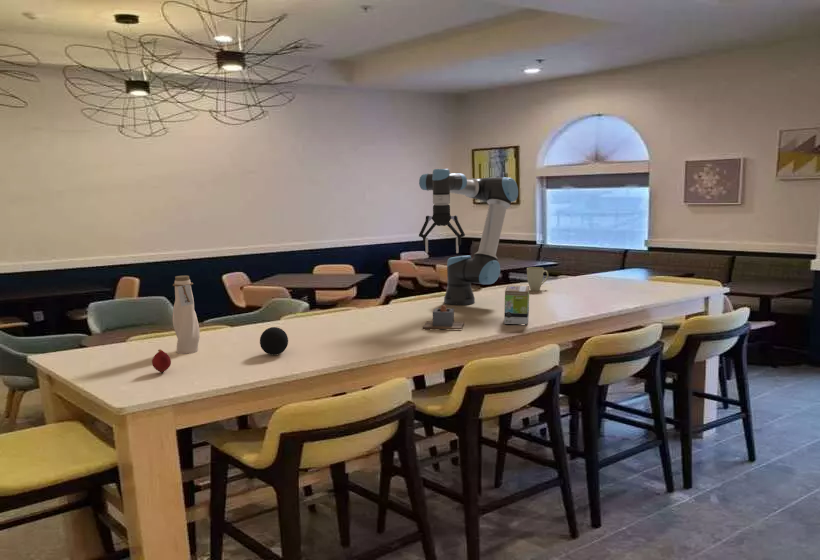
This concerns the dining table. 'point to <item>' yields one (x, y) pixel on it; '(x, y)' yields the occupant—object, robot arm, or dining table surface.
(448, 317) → the grey square hollow block
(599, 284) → the dining table surface
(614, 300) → the dining table surface
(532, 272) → the mug
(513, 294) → the tea box
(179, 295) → the water bottle
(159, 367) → the onion
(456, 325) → the keeper
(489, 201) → the robot arm
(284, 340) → the speaker
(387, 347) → the dining table surface
